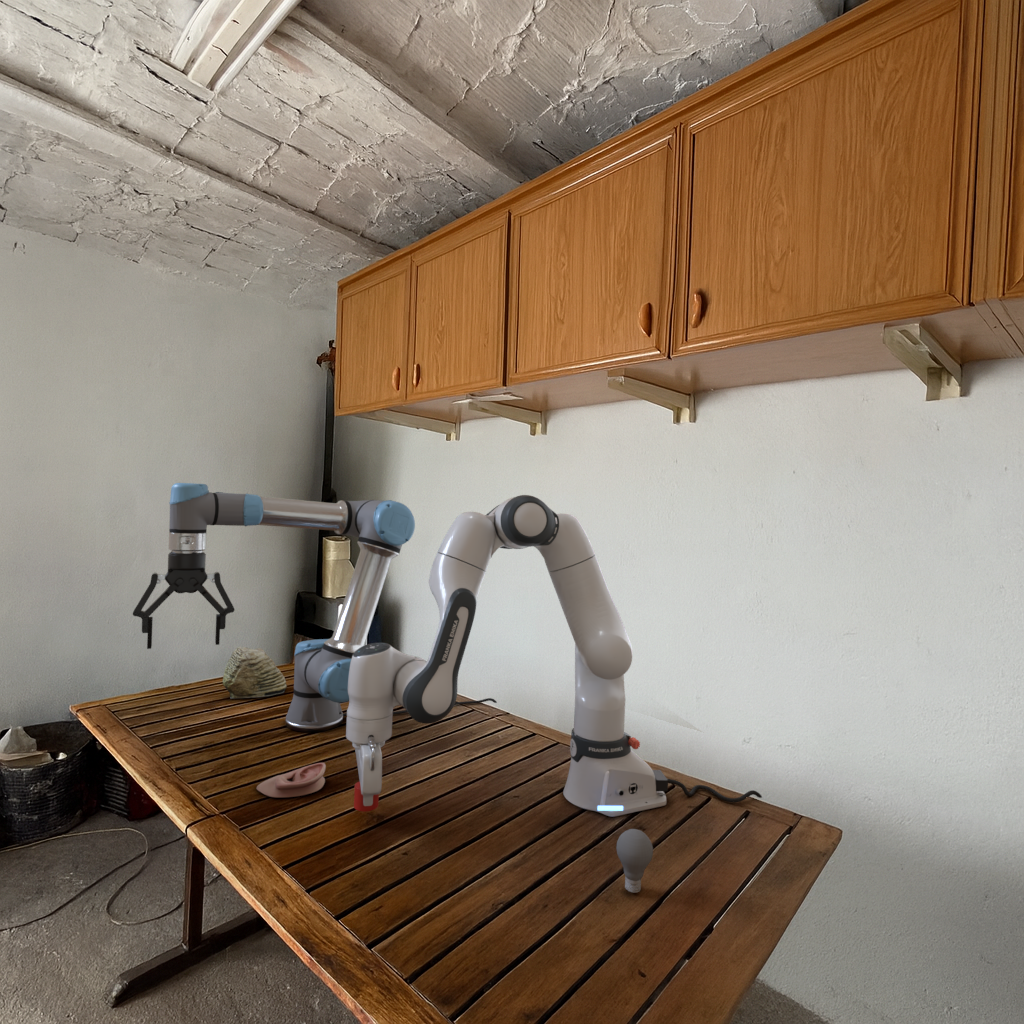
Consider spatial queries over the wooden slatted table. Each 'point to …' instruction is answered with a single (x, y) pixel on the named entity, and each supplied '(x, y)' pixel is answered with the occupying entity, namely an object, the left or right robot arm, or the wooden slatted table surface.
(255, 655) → the fossil
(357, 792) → the red cylinder
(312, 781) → the anatomical model
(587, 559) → the right robot arm
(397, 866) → the wooden slatted table surface
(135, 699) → the wooden slatted table surface
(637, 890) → the light bulb
